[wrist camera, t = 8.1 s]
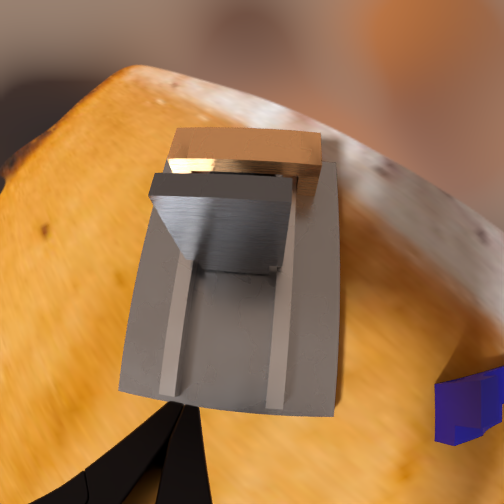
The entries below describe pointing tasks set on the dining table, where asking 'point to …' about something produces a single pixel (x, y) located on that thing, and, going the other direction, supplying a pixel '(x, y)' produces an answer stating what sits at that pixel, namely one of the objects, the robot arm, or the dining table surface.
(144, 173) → the dining table surface
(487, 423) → the blue saddle bracket
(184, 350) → the rail base
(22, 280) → the dining table surface
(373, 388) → the dining table surface
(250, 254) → the metal angle bracket
